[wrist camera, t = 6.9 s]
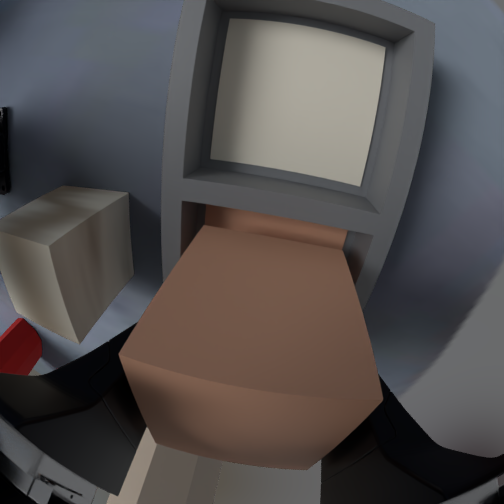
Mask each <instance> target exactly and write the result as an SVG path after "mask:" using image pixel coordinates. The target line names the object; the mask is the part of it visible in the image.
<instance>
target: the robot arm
mask: <svg viewBox="0 0 504 504" xmlns="http://www.w3.org/2000/svg"><path fill="white" fill-rule="evenodd" d="M6 125H7V110H6V107H2V108H0V194H3V195H5V194H7V193H9V192H10V182H9V172H8V160H7V135H6ZM137 323H138V322H137ZM137 323H135V324H134V325H132V326H131V327H129V328H128V329H126V330H125V331H123V332H121V333H120V334H118V335H117V336H115V337H114V338H112V339H110V340H109V342H106V343H104V344H103V345H101V346H99V347H98V348H96V349H94V350H93V351H91V352H89V353H88V354H86V355H84V356H82V357H80V358H78V359H76V360H74V361H72V362H70V363H68V364H66V365H64V366H62V367H60V368H58V369H56V370H54V371H52V372H50V373H47V374H44V375H39V376H28V375H17V374H8V373H0V504H92V501H93V499H94V496H95V493H96V490H97V488H100V489H103V490H105V491H107V492H109V493H111V494H113V495H115V496H118V495H119V493H120V491H121V488H122V486H123V483H124V481H125V478H126V476H127V473H128V471H129V468H130V466H131V464H132V461H133V459H134V456H135V454H136V450H137V449H138V446H139V444H140V442H141V439H142V437H143V435H144V432H145V430H146V427H147V425H146V423H145V421H144V418H143V416H142V414H141V412H140V409H139V407H138V405H137V402H136V400H135V397H134V395H133V392H132V390H131V387H130V385H129V382H128V380H127V377H126V374H125V371H124V369H123V366H122V363H121V360H120V357H119V352H120V351H121V349H122V347H123V346H124V344H125V342H126V341H127V339H128V337H129V336H130V334H131V333H132V331H133V329H134V328H135V326H136V325H137ZM378 376H379V374H378ZM379 381H380V385H381V390H382V395H383V401H382V402H381V403H380V404H379V405H378V406H377V407H376V408H375V409H374V410H373V412H372V413H371V414H370V415H369V416H368V417H367V418H366V419H365V420H364V421H363V422H362V423H361V424H360V425H359V426H358V427H357V428H356V429H355V430H353V431H352V432H351V433H350V434H349V435H348V436H347V437H346V438H345V439H344V440H343V441H342V442H340V443H339V444H338V445H337V446H336V447H335V448H334V449H332V450H331V451H330V452H329V453H328V454H327V455H325V456H324V457H323V458H322V459H321V462H322V463H321V498H320V504H504V484H503V485H502V486H500V487H499V486H498V480H497V477H499V476H501V475H502V474H504V454H502V455H500V456H498V457H494V458H486V457H481V456H476V455H471V454H467V453H463V452H459V451H455V450H451V449H447V448H444V447H442V446H440V445H438V444H437V443H435V442H434V441H433V440H432V439H431V438H430V437H429V436H428V435H427V434H426V433H425V431H424V430H423V429H422V428H421V427H420V426H419V425H418V423H417V422H416V421H415V420H414V419H413V418H412V417H411V416H410V415H409V413H408V412H407V411H406V410H405V409H404V408H403V406H402V405H401V403H400V402H399V401H398V400H397V398H396V397H395V396H394V394H393V393H392V392H390V389H389V388H388V386H387V385H386V384H385V382H384V381H383V380H382V378H381V377H380V376H379Z"/></svg>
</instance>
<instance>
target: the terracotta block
mask: <svg viewBox="0 0 504 504" xmlns="http://www.w3.org/2000/svg"><path fill="white" fill-rule="evenodd" d="M119 357H120V360H121V363H122V366H123V369H124V371H125V374H126V377H127V380H128V382H129V385H130V387H131V390H132V392H133V395H134V397H135V400H136V402H137V405H138V407H139V409H140V412H141V414H142V416H143V418H144V421H145V423H146V425H147V427H148V429H149V431H150V433H151V435H152V437H153V439H154V441H155V443H156V444H160V445H163V446H166V447H169V448H172V449H176V450H179V451H183V452H187V453H190V454H194V455H198V456H203V457H207V458H212V459H216V460H221V461H227V462H232V463H238V464H245V465H252V466H260V467H268V468H279V469H293V470H294V469H295V470H308V469H309V468H310V467H311V466H313V465H314V464H315V463H317V462H318V461H319V460H320V459H322V458H323V457H324V456H325V455H327V454H328V453H329V452H330V451H331V450H332V449H334V448H335V447H336V446H337V445H338V444H339V443H340V442H342V441H343V440H344V439H345V438H346V437H347V436H348V435H349V434H350V433H351V432H352V431H353V430H355V429H356V428H357V427H358V426H359V425H360V424H361V423H362V422H363V421H364V420H365V419H366V418H367V417H368V416H369V415H370V414H371V413H372V412H373V410H374V409H375V408H376V407H377V406H378V405H379V404H380V403H381V402H382V401H383V395H382V390H381V385H380V381H379V376H378V371H377V367H376V363H375V358H374V354H373V350H372V346H371V342H370V338H369V335H368V331H367V327H366V323H365V320H364V316H363V313H362V309H361V306H360V302H359V299H358V296H357V292H356V289H355V286H354V283H353V280H352V276H351V273H350V270H349V267H348V264H347V261H346V258H345V255H344V252H343V250H339V249H333V248H328V247H323V246H318V245H313V244H307V243H302V242H297V241H291V240H286V239H280V238H275V237H270V236H264V235H258V234H253V233H247V232H242V231H236V230H230V229H224V228H219V227H213V226H207V225H203V227H202V228H201V229H200V231H199V232H198V234H197V235H196V236H195V238H194V239H193V241H192V242H191V243H190V245H189V246H188V248H187V249H186V251H185V252H184V253H183V255H182V256H181V258H180V259H179V261H178V262H177V264H176V265H175V266H174V268H173V269H172V271H171V272H170V274H169V275H168V277H167V278H166V280H165V281H164V283H163V284H162V286H161V287H160V289H159V290H158V292H157V293H156V295H155V296H154V298H153V299H152V301H151V303H150V304H149V306H148V307H147V309H146V310H145V312H144V313H143V315H142V317H141V318H140V320H139V321H138V323H137V325H136V326H135V328H134V329H133V331H132V333H131V334H130V336H129V337H128V339H127V341H126V342H125V344H124V346H123V347H122V349H121V351H120V352H119Z"/></svg>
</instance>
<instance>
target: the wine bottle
mask: <svg viewBox="0 0 504 504" xmlns="http://www.w3.org/2000/svg"><path fill="white" fill-rule="evenodd" d="M221 466H222V461H221V460H216V459H212V458H207V457H203V456H198V455H194V454H190V453H187V452H183V451H179V450H176V449H172V448H169V447H166V446H163V445H160V444H156V443H155V441H154V439H153V437H152V435H151V433H150V431H149V429H148V427H146V430H145V432H144V435H143V437H142V439H141V442H140V444H139V446H138V449H137V450H136V454H135V456H134V459H133V461H132V464H131V466H130V468H129V471H128V473H127V476H126V478H125V481H124V483H123V486H122V488H121V491H120V493H119V495H118V496H115V495H113V494H111V493H110V496H109V499H108V501H107V504H213V502H214V498H215V493H216V489H217V484H218V480H219V475H220V470H221Z"/></svg>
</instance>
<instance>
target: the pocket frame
mask: <svg viewBox="0 0 504 504" xmlns="http://www.w3.org/2000/svg"><path fill="white" fill-rule="evenodd" d="M434 45H435V23H433V22H431V21H429V20H427V19H425V18H423V17H421V16H418V15H416V14H414V13H412V12H409V11H407V10H405V9H402V8H400V7H397V6H395V5H392V4H390V3H387V2H384V1H381V0H184V2H183V6H182V11H181V15H180V20H179V25H178V30H177V35H176V41H175V46H174V52H173V59H172V65H171V72H170V79H169V87H168V96H167V105H166V115H165V126H164V140H163V156H162V180H161V249H162V273H163V283H164V281H165V280H166V278H167V277H168V275H169V274H170V272H171V271H172V269H173V268H174V266H175V265H176V264H177V262H178V261H179V259H180V258H181V256H182V255H183V253H184V252H185V251H186V249H187V248H188V246H189V245H190V243H191V242H192V241H193V239H194V238H195V236H196V235H197V234H198V232H199V231H200V229H201V228H202V227H203V225H207V226H213V227H219V228H224V229H230V230H236V231H242V232H247V233H253V234H258V235H264V236H270V237H275V238H280V239H286V240H291V241H297V242H302V243H307V244H313V245H318V246H323V247H328V248H333V249H339V250H343V252H344V255H345V258H346V261H347V264H348V267H349V270H350V273H351V276H352V280H353V283H354V286H355V289H356V292H357V296H358V299H359V302H360V306H361V309H362V313H363V310H364V308H365V306H366V304H367V302H368V300H369V297H370V295H371V293H372V291H373V288H374V286H375V284H376V281H377V279H378V277H379V274H380V272H381V269H382V267H383V265H384V262H385V259H386V257H387V254H388V252H389V249H390V246H391V244H392V241H393V238H394V235H395V233H396V230H397V227H398V224H399V221H400V218H401V215H402V212H403V209H404V206H405V202H406V199H407V196H408V192H409V189H410V185H411V182H412V178H413V174H414V171H415V167H416V163H417V159H418V154H419V150H420V146H421V141H422V136H423V131H424V126H425V121H426V115H427V109H428V103H429V96H430V89H431V81H432V72H433V60H434Z"/></svg>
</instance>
